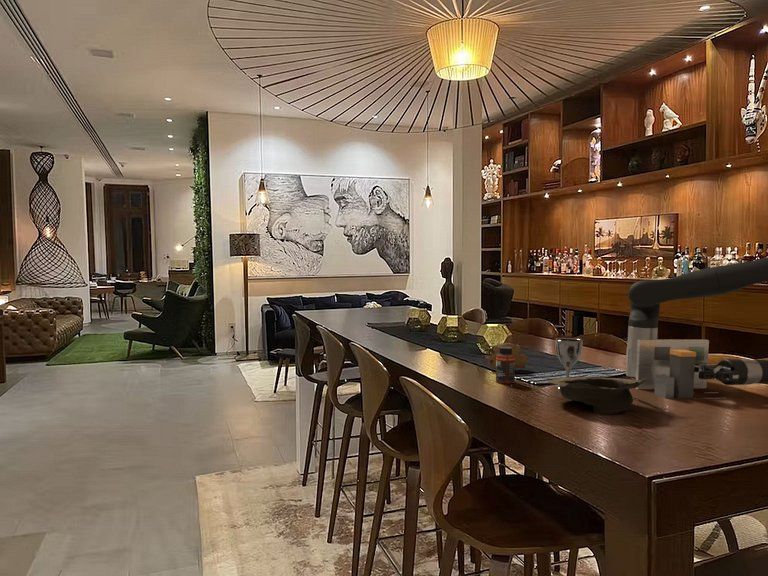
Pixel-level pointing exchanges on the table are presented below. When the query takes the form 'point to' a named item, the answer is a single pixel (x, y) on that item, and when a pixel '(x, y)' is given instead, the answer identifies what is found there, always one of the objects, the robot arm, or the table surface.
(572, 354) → the wine glass
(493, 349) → the wooden carving
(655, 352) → the white upright board
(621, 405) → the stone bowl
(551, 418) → the table surface
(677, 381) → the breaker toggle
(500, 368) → the supplement bottle
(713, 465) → the table surface
